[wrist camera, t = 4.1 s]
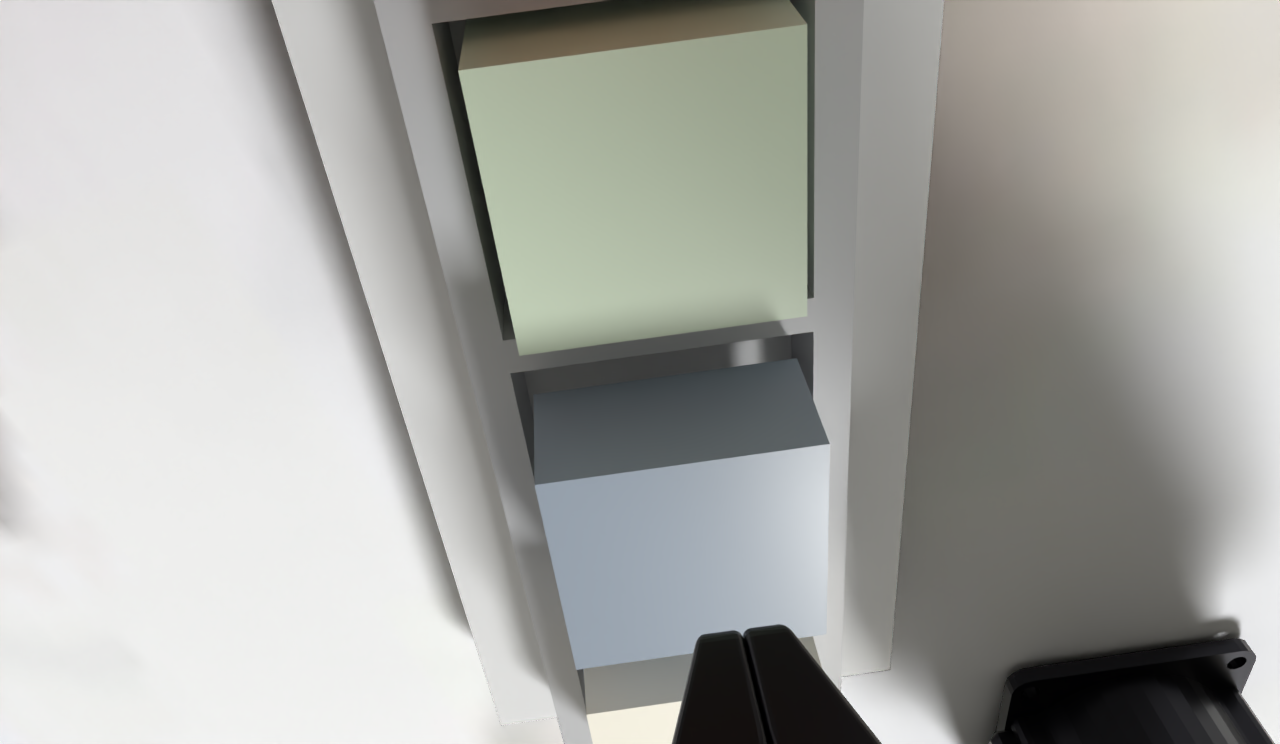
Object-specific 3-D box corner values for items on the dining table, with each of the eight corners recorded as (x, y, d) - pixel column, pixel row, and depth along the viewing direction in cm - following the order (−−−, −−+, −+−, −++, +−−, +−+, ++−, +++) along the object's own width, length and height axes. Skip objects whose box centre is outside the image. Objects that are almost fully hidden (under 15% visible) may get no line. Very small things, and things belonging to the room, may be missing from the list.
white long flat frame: (943, -735, 11) (1084, -863, 8) (868, 608, 24) (912, 731, 21) (120, -635, 11) (-19, -731, 8) (502, 660, 24) (499, 790, 21)
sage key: (772, -23, 13) (807, 24, 11) (777, 246, 15) (807, 316, 14) (466, 17, 13) (457, 70, 11) (520, 280, 15) (519, 355, 14)
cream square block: (798, 587, 18) (825, 680, 16) (799, 717, 20) (823, 809, 19) (580, 619, 18) (586, 714, 16) (607, 745, 20) (614, 839, 19)
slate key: (796, 358, 15) (829, 444, 13) (798, 542, 17) (826, 634, 16) (534, 394, 15) (534, 484, 13) (571, 574, 17) (576, 669, 16)
